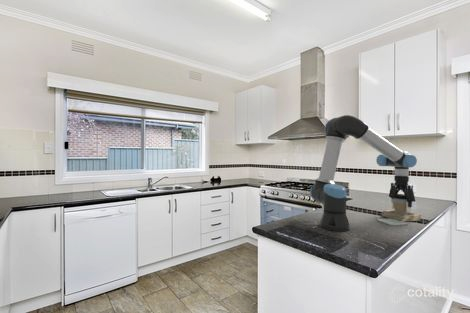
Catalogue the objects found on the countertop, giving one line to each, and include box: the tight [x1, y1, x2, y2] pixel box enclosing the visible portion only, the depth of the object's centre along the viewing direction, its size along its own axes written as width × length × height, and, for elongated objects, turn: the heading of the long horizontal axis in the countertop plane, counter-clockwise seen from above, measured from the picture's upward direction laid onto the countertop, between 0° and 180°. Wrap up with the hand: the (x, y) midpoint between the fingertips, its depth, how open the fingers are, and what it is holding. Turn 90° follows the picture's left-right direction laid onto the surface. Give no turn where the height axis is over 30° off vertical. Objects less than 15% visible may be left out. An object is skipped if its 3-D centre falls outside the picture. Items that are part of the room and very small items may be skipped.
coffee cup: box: [393, 193, 408, 216], centre depth 152 cm, size 9×9×15 cm
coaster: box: [376, 218, 409, 227], centre depth 142 cm, size 11×11×1 cm
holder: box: [382, 209, 422, 223], centre depth 152 cm, size 14×14×4 cm
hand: (401, 210), depth 152 cm, fingers closed on coffee cup, 9 cm apart
